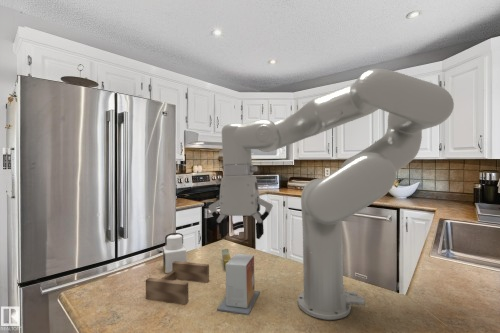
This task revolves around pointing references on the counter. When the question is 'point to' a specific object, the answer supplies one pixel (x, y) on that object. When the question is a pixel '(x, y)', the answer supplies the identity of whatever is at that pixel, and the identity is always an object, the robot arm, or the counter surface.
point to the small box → (240, 280)
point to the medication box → (225, 257)
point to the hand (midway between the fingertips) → (241, 237)
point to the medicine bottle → (173, 251)
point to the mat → (238, 309)
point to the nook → (176, 282)
